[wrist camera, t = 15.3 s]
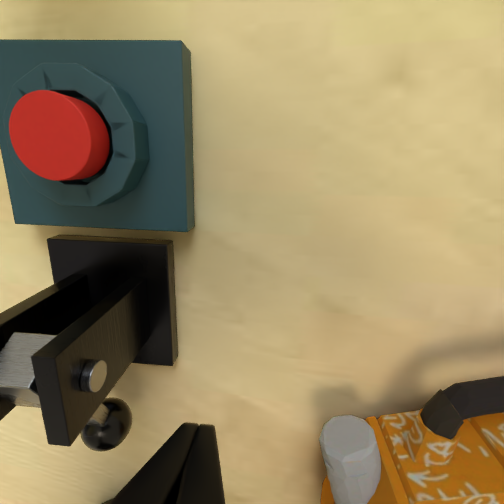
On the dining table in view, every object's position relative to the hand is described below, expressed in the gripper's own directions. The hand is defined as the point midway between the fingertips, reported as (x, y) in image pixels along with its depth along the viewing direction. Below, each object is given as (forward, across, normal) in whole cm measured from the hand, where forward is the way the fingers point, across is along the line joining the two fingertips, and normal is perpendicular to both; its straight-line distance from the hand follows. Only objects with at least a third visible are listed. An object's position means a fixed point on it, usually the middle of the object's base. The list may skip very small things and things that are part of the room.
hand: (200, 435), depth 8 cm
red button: (+10, +9, -8) cm, 15 cm away
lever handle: (+9, +9, +6) cm, 14 cm away
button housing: (+13, +9, -8) cm, 18 cm away
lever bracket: (+13, +9, +3) cm, 16 cm away
